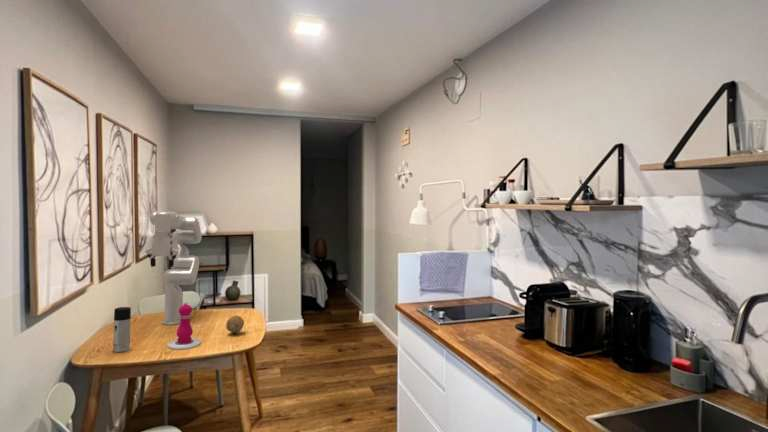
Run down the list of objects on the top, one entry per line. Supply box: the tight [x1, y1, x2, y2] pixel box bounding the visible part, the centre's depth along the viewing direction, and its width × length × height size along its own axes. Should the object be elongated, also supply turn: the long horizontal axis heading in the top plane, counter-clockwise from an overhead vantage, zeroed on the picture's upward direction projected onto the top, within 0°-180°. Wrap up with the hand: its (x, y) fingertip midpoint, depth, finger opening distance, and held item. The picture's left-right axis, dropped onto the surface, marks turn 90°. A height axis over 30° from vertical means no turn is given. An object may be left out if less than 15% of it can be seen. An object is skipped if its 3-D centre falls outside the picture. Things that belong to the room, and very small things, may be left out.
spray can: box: [112, 306, 132, 353], centre depth 192 cm, size 7×7×20 cm
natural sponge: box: [225, 315, 245, 334], centre depth 221 cm, size 9×9×10 cm
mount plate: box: [167, 337, 202, 351], centre depth 202 cm, size 15×15×1 cm
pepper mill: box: [176, 301, 194, 344], centre depth 202 cm, size 7×7×20 cm
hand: (162, 266), depth 218 cm, fingers open, 9 cm apart
